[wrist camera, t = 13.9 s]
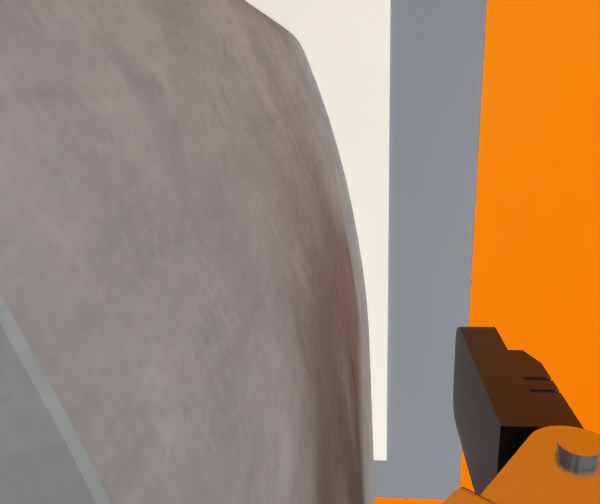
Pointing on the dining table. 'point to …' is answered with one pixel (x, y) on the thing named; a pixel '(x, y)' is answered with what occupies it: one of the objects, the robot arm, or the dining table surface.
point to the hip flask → (175, 263)
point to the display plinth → (405, 205)
